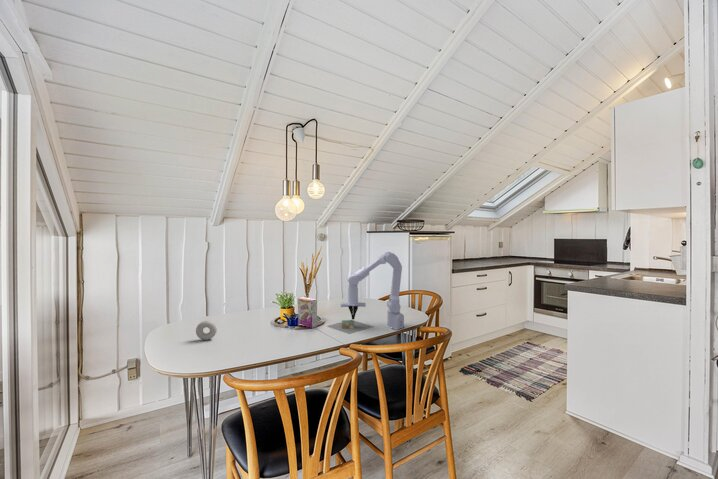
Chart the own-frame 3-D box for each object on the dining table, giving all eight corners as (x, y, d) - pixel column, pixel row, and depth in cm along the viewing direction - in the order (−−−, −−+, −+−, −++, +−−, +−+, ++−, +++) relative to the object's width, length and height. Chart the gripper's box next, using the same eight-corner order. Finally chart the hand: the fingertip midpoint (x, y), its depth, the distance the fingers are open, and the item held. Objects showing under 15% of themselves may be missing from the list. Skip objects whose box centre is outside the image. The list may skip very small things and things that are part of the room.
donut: (195, 341, 170) (194, 322, 169) (196, 339, 173) (196, 320, 173) (216, 340, 172) (216, 321, 172) (217, 338, 176) (217, 319, 175)
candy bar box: (297, 325, 199) (297, 298, 198) (303, 323, 203) (303, 296, 202) (311, 328, 193) (311, 300, 192) (317, 326, 197) (317, 299, 196)
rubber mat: (374, 327, 196) (374, 326, 196) (349, 334, 182) (349, 334, 182) (351, 320, 210) (351, 319, 210) (326, 326, 196) (326, 326, 196)
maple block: (353, 320, 198) (341, 320, 198) (354, 323, 192) (341, 323, 192) (353, 325, 198) (341, 325, 198) (354, 328, 192) (341, 328, 192)
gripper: (340, 297, 190) (340, 321, 191) (366, 297, 191) (366, 320, 192) (340, 294, 197) (340, 317, 198) (365, 294, 198) (364, 317, 199)
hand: (353, 318), depth 195 cm, fingers closed
